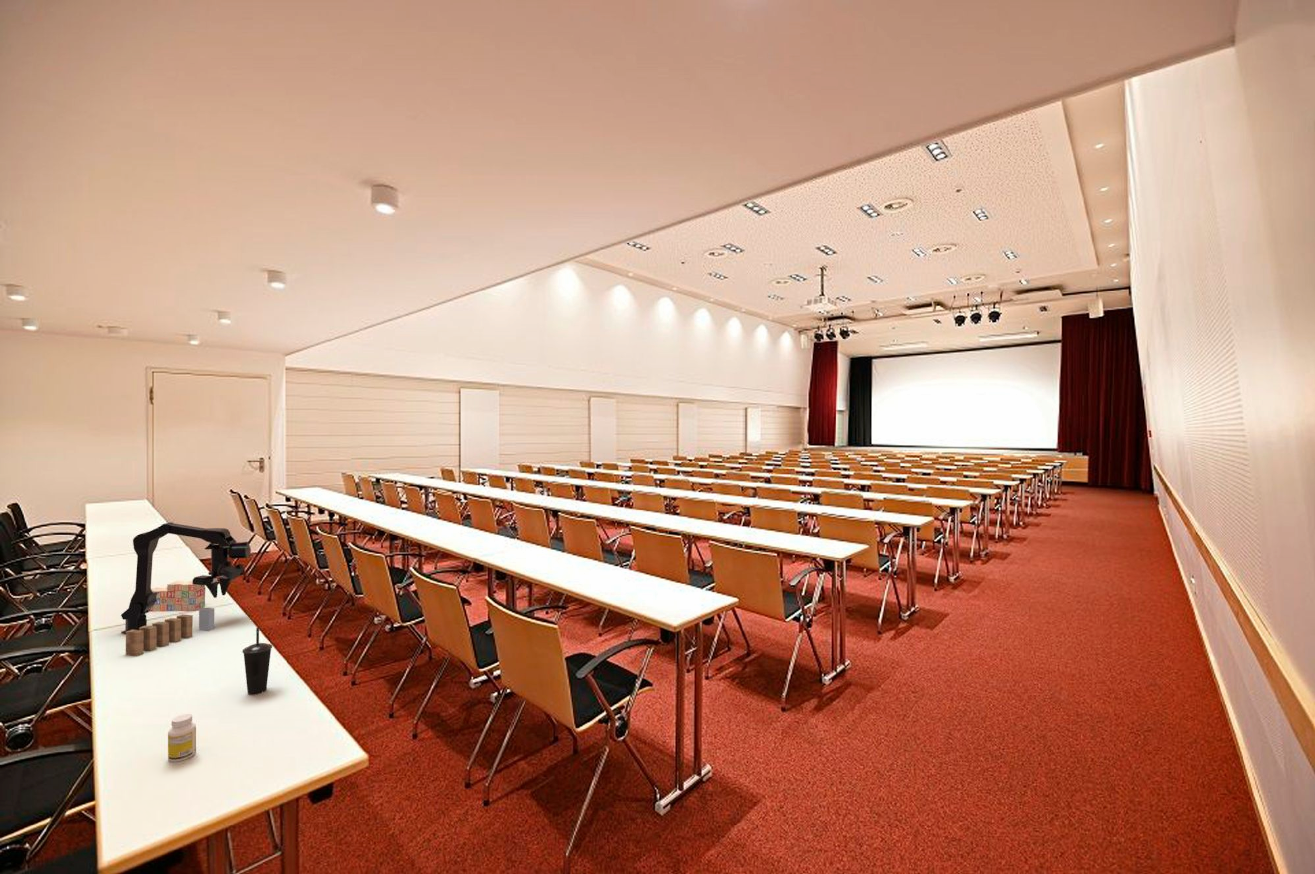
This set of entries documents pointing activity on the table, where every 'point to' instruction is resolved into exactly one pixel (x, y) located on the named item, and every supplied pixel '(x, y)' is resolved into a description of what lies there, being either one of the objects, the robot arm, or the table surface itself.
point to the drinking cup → (257, 665)
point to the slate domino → (206, 619)
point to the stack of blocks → (179, 597)
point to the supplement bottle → (181, 738)
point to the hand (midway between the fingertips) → (219, 596)
